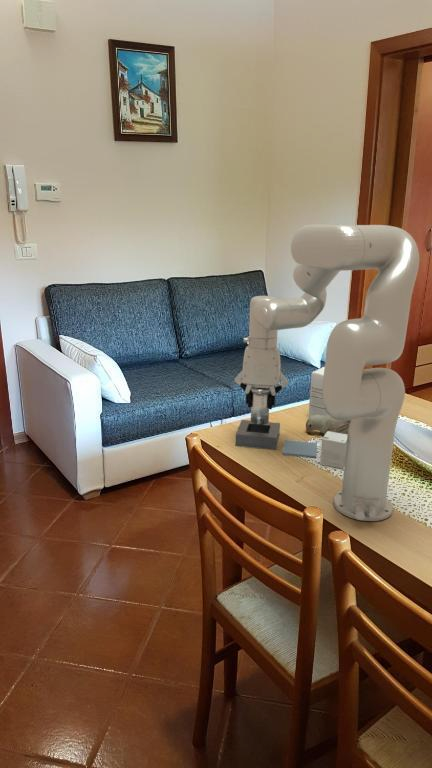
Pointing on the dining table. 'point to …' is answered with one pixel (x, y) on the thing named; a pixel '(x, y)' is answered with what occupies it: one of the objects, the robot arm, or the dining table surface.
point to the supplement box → (317, 394)
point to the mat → (300, 449)
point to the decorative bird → (327, 424)
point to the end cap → (260, 404)
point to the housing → (257, 435)
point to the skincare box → (333, 449)
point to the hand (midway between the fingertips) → (260, 406)
